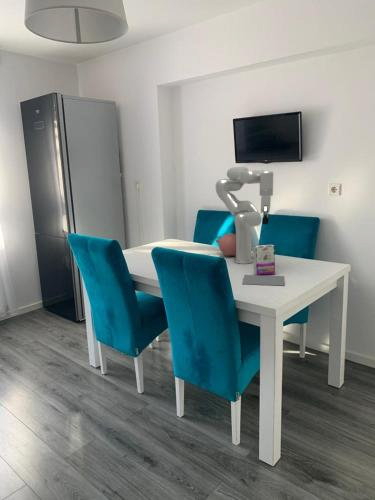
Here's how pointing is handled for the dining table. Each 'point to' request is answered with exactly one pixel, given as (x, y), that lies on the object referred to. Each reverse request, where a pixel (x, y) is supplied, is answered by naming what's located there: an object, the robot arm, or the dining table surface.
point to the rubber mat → (263, 280)
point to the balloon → (227, 244)
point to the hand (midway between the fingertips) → (265, 222)
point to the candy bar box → (264, 259)
